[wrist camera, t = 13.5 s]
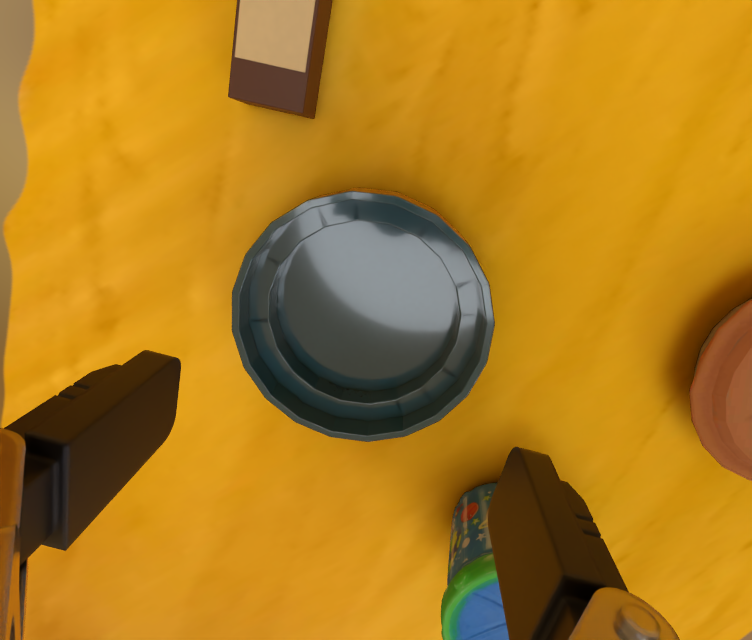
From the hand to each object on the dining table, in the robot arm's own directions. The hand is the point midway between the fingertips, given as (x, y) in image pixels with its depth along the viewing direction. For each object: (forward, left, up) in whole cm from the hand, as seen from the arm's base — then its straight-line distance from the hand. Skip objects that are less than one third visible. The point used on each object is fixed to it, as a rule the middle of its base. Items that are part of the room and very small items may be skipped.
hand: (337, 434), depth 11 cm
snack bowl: (+4, +2, -23) cm, 23 cm away
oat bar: (-6, -13, -23) cm, 27 cm away
